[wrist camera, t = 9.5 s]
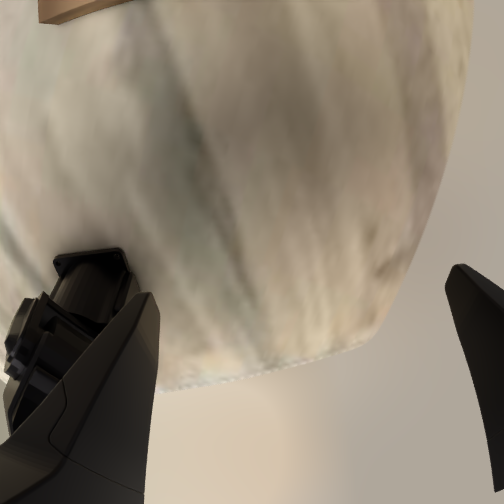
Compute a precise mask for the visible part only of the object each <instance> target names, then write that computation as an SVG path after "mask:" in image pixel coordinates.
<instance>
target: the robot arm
mask: <svg viewBox="0 0 504 504" xmlns="http://www.w3.org/2000/svg"><path fill="white" fill-rule="evenodd" d="M115 254H118V255H119V256H116V255H115ZM58 261H59V262H60V263H59V262H58ZM53 264H54V267H55V269H56V271H57V273H58V275H59V279H58V281H57V283H56V285H55V287H54V289H53V291H52V293H51V295H50V297H49V295H47V294H46V293H45V292H44V291H43V292H42V293H41V294H40V296H39V297H38V298H35V299H30V298H25V299H24V300H23V302H22V303H21V305H20V307H19V309H18V311H17V313H16V315H15V317H14V319H13V321H12V323H11V326H10V328H9V331H8V334H7V336H6V339H5V342H4V343H5V347H6V351H7V354H6V362H5V368H4V372H5V373H6V374H8V375H9V376H10V378H9V380H8V383H7V385H6V388H5V390H4V394H3V401H4V408H5V413H6V420H7V425H8V431H9V436H10V437H9V438H8V439H7V440H6V441H5V442H4V443H3V444H1V445H0V504H144V491H145V476H146V464H147V453H148V443H149V433H150V424H151V415H152V407H153V400H154V392H155V385H156V378H157V371H158V358H159V333H160V312H159V309H158V307H157V304H156V302H155V299H154V297H153V295H152V293H151V292H140V290H139V287H138V284H137V282H136V279H135V276H134V274H133V273H132V272H130V269H129V266H128V263H127V261H126V258H125V255H124V252H123V251H122V250H121V249H119V248H114V249H106V250H98V251H90V252H82V253H75V254H67V255H60V256H56V257H55V258H54V260H53ZM445 292H446V295H447V299H448V302H449V305H450V309H451V312H452V316H453V320H454V323H455V327H456V330H457V334H458V337H459V340H460V342H461V345H462V348H463V351H464V354H465V357H466V360H467V363H468V367H469V370H470V373H471V377H472V380H473V384H474V387H475V390H476V395H477V398H478V402H479V406H480V410H481V415H482V419H483V423H484V428H485V433H486V438H487V444H488V450H489V455H490V462H491V468H492V476H493V485H494V491H495V492H498V491H500V490H503V489H504V290H503V289H501V288H500V287H499V286H497V285H496V284H494V283H493V282H492V281H490V280H489V279H487V278H486V277H484V276H483V275H481V274H480V273H478V272H477V271H475V270H474V269H472V268H471V267H469V266H468V265H466V264H456V265H454V266H453V267H452V269H451V271H450V274H449V276H448V278H447V281H446V283H445Z"/></svg>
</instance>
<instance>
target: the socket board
mask: <svg viewBox="0 0 504 504" xmlns="http://www.w3.org/2000/svg"><path fill="white" fill-rule="evenodd" d="M129 1H133V0H38V13H39V23H44V24H55V25H59V24H62V23H64V22H67V21H69V20H72V19H74V18H77V17H80V16H83V15H86V14H89V13H91V12H94V11H98V10H101V9H104V8H107V7H111V6H114V5H118V4H121V3H125V2H129Z"/></svg>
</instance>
